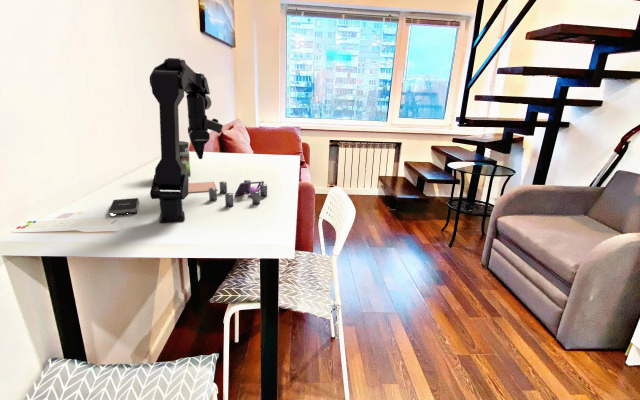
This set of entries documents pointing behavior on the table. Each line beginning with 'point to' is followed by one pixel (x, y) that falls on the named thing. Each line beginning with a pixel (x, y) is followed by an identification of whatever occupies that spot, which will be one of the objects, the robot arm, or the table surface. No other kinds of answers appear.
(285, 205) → the table surface
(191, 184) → the mat
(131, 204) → the external hard drive
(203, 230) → the table surface
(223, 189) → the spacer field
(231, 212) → the table surface
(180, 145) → the coffee can
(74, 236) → the table surface
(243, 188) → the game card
